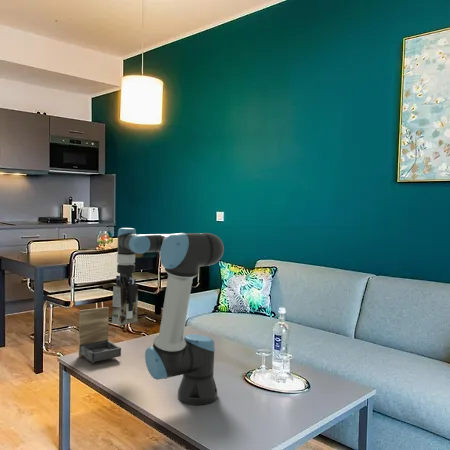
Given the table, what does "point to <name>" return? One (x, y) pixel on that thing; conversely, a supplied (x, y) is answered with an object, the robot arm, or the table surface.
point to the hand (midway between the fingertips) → (124, 316)
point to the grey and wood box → (96, 336)
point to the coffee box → (122, 305)
